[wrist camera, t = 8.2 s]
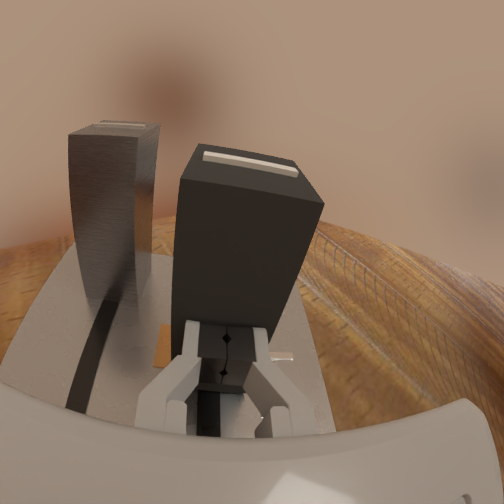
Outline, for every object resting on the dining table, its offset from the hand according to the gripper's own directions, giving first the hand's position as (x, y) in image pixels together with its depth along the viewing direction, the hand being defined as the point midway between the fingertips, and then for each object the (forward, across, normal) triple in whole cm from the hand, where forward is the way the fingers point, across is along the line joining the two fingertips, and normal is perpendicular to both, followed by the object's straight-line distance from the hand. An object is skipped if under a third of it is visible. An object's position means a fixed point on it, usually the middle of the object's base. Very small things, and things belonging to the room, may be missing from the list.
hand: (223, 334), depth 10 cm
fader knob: (+2, 0, +5) cm, 6 cm away
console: (0, +3, +7) cm, 8 cm away
